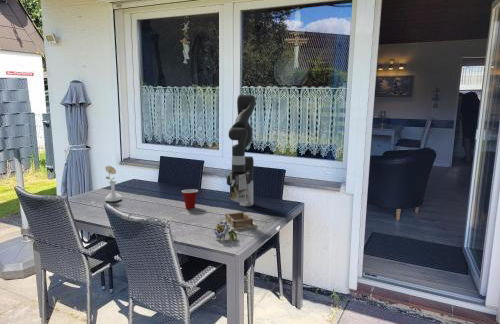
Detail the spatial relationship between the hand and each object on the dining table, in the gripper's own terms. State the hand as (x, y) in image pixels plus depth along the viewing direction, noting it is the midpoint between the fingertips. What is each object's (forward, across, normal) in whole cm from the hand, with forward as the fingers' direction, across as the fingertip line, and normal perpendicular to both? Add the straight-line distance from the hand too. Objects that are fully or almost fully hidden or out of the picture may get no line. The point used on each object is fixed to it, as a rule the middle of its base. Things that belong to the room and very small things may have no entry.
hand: (238, 191), depth 210 cm
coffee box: (+5, 0, 0) cm, 5 cm away
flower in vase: (+19, -66, +80) cm, 106 cm away
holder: (+19, 0, 0) cm, 19 cm away
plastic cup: (+20, -19, +42) cm, 50 cm away
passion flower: (+20, -14, -18) cm, 30 cm away
